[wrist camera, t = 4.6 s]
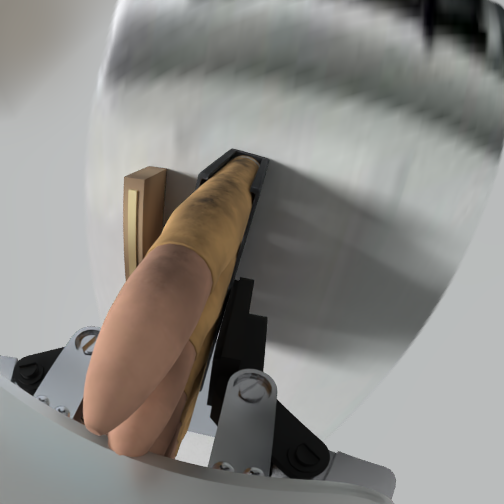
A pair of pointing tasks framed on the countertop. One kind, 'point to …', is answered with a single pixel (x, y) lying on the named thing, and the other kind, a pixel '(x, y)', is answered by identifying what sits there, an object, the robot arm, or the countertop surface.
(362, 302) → the countertop surface
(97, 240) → the countertop surface
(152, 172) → the straightedge
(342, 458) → the robot arm
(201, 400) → the flat gray rectangular panel
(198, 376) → the ammunition clip
